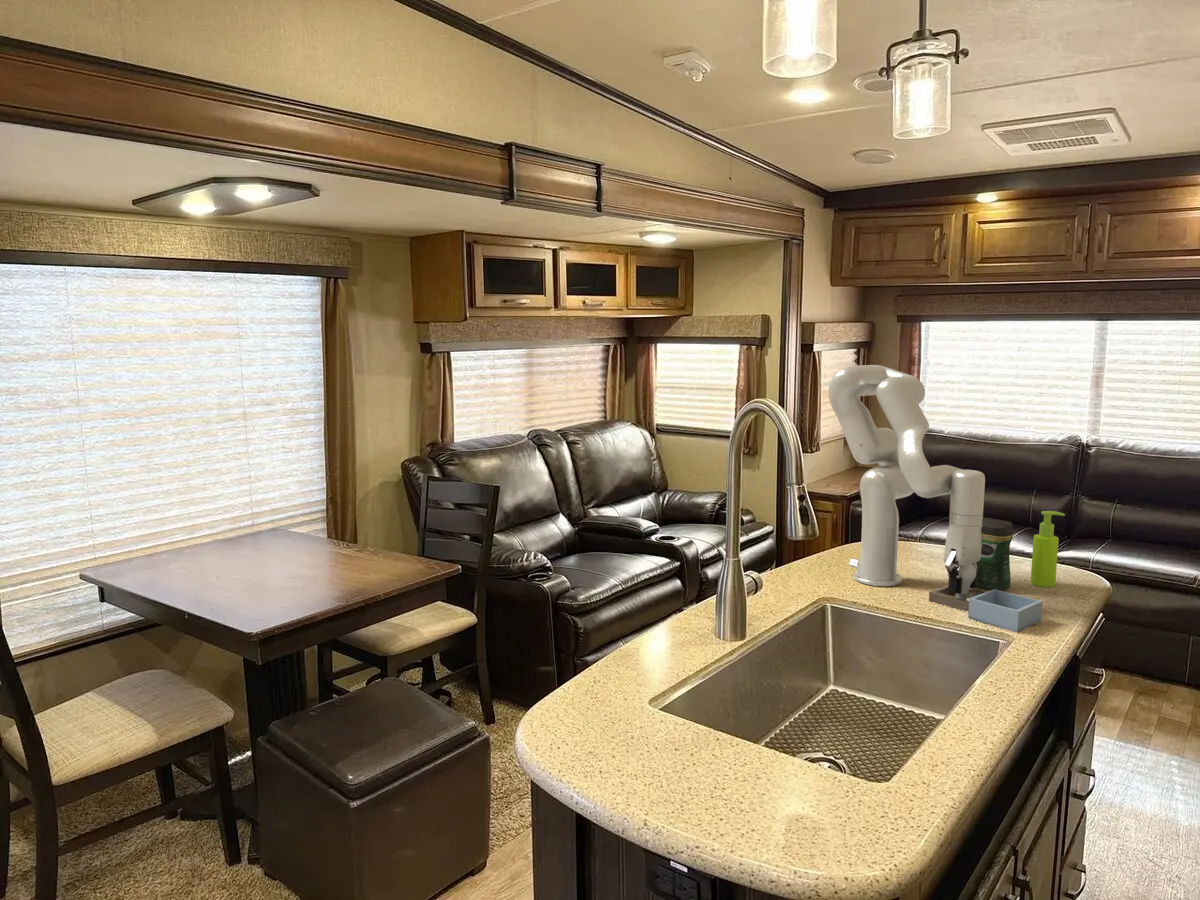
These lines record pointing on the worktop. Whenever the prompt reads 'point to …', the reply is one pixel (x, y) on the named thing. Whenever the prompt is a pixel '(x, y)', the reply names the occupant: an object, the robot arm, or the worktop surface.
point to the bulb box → (1005, 610)
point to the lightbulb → (966, 580)
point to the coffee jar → (995, 555)
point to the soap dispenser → (1045, 553)
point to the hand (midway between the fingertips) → (961, 588)
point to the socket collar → (952, 598)
